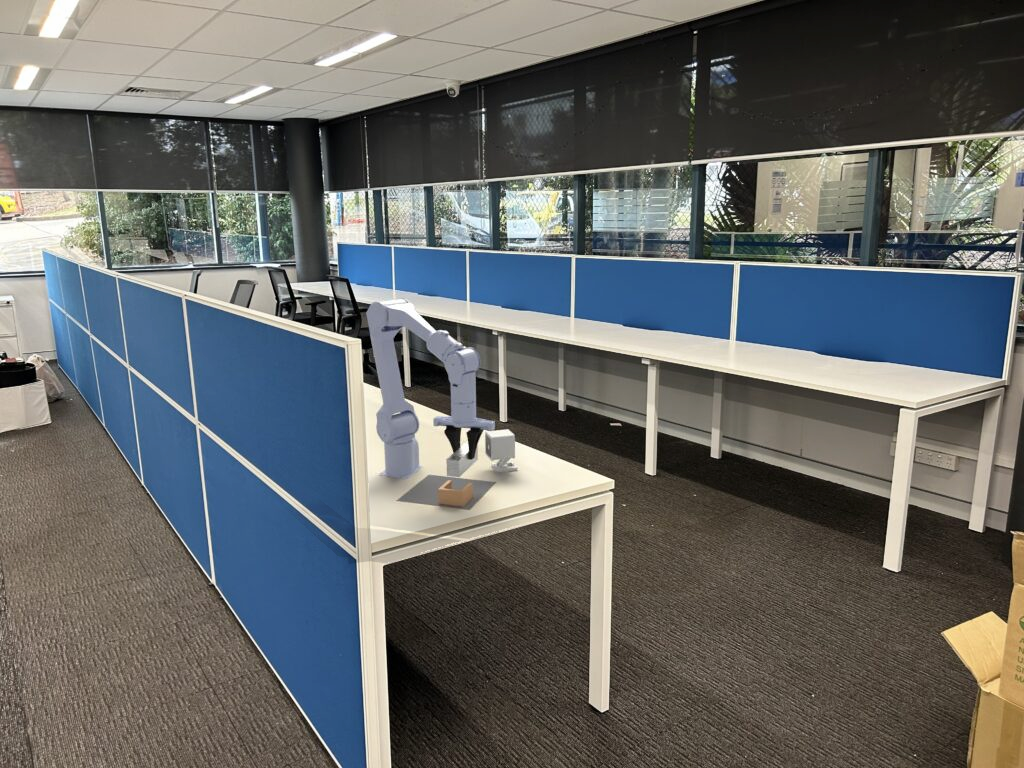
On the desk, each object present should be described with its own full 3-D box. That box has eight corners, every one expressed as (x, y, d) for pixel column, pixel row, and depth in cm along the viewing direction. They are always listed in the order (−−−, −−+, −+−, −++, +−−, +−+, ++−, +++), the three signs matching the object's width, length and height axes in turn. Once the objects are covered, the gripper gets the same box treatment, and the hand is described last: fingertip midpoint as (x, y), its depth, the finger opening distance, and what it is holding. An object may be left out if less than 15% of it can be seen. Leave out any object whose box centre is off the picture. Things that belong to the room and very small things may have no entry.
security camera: (485, 467, 192) (484, 430, 190) (510, 464, 195) (510, 428, 192) (491, 475, 187) (491, 437, 184) (518, 472, 189) (518, 435, 186)
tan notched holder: (448, 494, 173) (448, 480, 172) (472, 497, 171) (472, 483, 170) (438, 503, 167) (438, 489, 167) (463, 506, 166) (463, 491, 165)
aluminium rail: (466, 458, 178) (465, 442, 177) (477, 459, 177) (477, 443, 176) (446, 475, 167) (446, 459, 166) (459, 477, 166) (458, 460, 165)
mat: (428, 476, 186) (428, 474, 186) (496, 484, 181) (496, 482, 181) (396, 502, 169) (396, 500, 169) (469, 511, 164) (469, 509, 164)
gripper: (427, 403, 168) (429, 459, 171) (487, 407, 164) (488, 466, 167) (439, 395, 175) (441, 450, 178) (497, 400, 170) (498, 456, 173)
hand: (464, 457), depth 173 cm, fingers closed on aluminium rail, 3 cm apart
